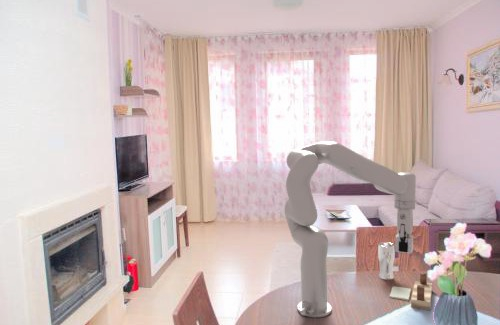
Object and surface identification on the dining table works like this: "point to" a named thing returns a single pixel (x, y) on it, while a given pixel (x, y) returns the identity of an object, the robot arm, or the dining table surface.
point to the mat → (400, 293)
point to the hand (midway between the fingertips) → (403, 249)
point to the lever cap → (409, 240)
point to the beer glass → (386, 260)
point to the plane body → (422, 293)
